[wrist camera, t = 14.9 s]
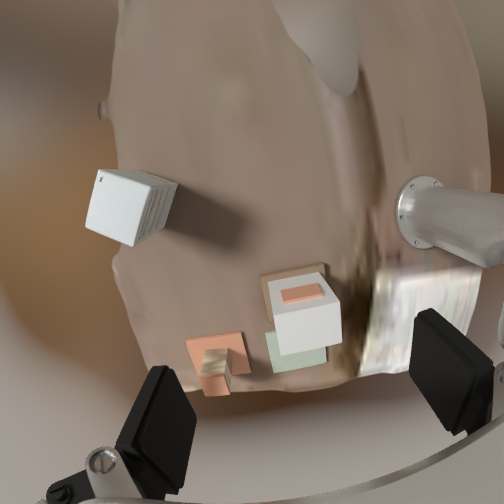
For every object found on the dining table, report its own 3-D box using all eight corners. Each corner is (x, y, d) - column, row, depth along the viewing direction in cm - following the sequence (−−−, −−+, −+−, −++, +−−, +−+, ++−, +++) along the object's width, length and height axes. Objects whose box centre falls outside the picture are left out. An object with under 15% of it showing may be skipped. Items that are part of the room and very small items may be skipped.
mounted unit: (322, 262, 42) (347, 292, 31) (327, 306, 44) (349, 346, 33) (259, 274, 43) (263, 309, 31) (268, 318, 45) (274, 363, 33)
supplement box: (125, 213, 40) (82, 227, 28) (138, 169, 38) (97, 166, 26) (165, 229, 41) (132, 249, 29) (180, 183, 39) (151, 185, 27)
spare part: (227, 347, 46) (223, 376, 38) (232, 364, 47) (229, 394, 39) (205, 349, 46) (198, 378, 38) (211, 367, 47) (205, 396, 39)
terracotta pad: (240, 331, 45) (240, 333, 45) (251, 370, 48) (251, 372, 47) (185, 339, 46) (184, 340, 45) (199, 376, 48) (199, 378, 47)
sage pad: (322, 320, 45) (323, 322, 44) (325, 360, 47) (326, 362, 47) (265, 332, 45) (265, 334, 45) (273, 371, 48) (273, 373, 47)
